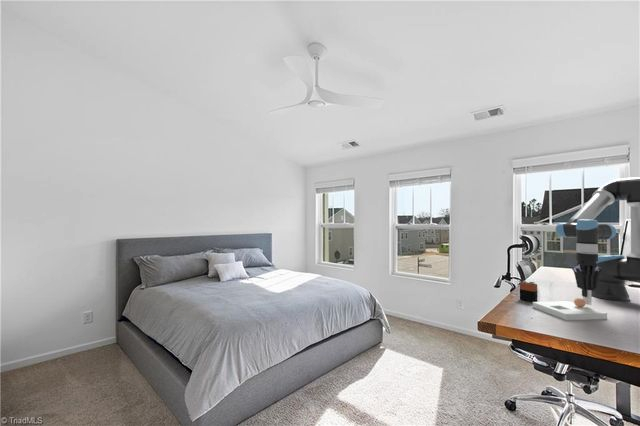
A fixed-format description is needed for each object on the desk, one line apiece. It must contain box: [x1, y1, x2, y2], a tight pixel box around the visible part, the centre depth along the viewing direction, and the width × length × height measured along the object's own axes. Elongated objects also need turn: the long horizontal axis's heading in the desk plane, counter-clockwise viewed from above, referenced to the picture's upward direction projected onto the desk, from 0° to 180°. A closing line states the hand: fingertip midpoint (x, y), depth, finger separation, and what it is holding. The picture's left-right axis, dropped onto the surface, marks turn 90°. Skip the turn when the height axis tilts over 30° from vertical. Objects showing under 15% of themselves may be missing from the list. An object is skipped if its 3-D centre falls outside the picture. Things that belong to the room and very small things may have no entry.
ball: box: [573, 297, 586, 307], centre depth 136 cm, size 4×4×4 cm
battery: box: [519, 280, 538, 303], centre depth 156 cm, size 4×7×10 cm, turn 35°
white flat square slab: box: [532, 300, 608, 321], centre depth 136 cm, size 19×18×2 cm
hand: (587, 303), depth 137 cm, fingers closed
